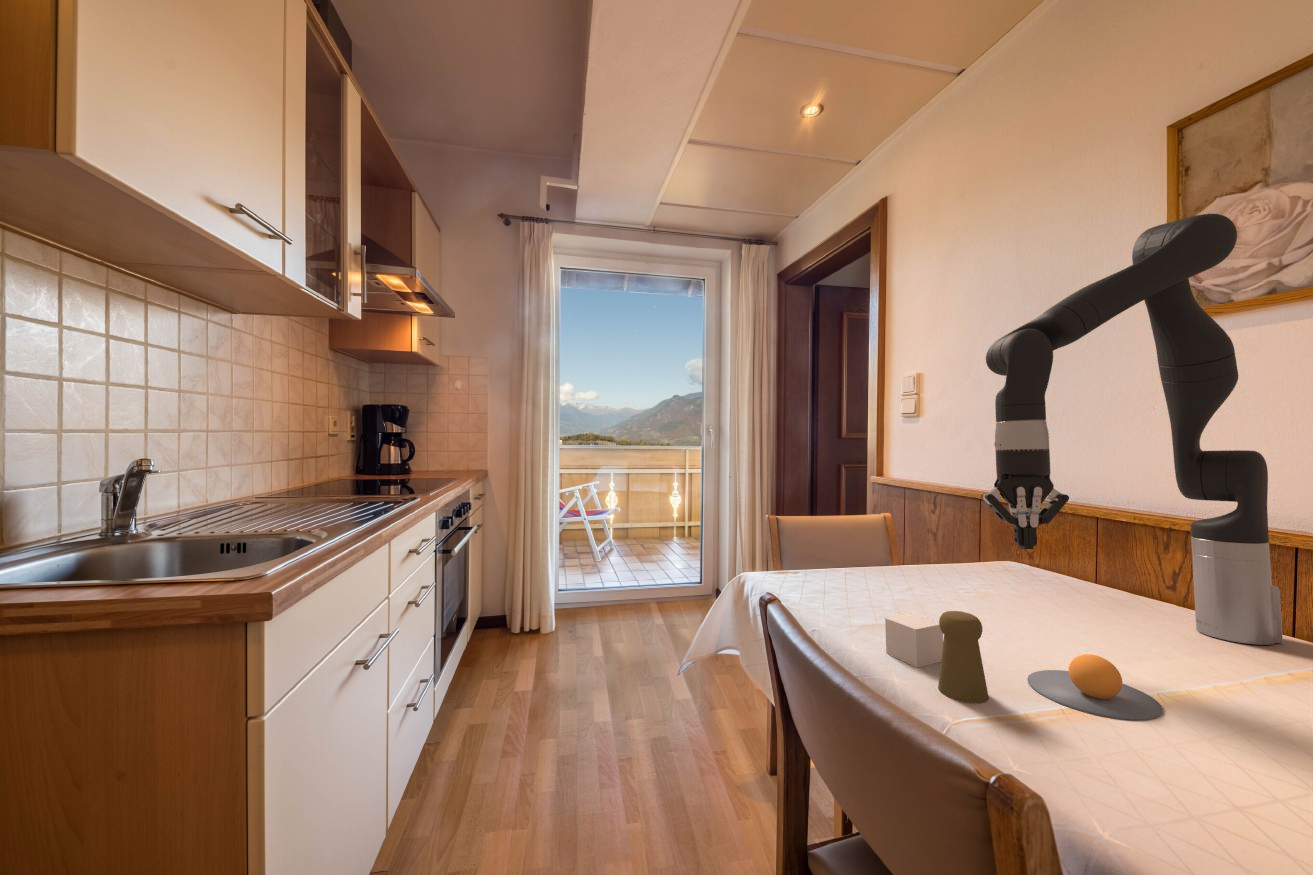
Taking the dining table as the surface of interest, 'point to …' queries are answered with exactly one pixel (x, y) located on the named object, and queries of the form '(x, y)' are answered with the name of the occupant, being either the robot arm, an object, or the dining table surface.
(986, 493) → the robot arm
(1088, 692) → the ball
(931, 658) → the grey cube
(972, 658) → the cork
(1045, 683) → the disc
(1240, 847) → the dining table surface
